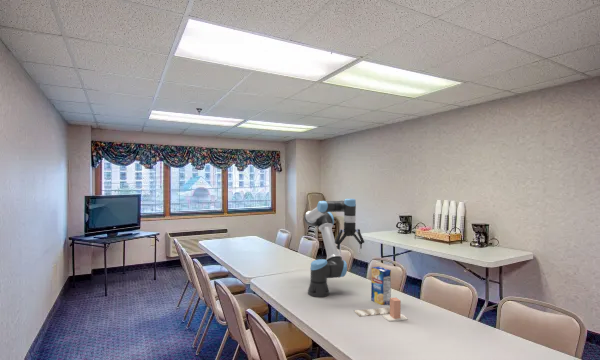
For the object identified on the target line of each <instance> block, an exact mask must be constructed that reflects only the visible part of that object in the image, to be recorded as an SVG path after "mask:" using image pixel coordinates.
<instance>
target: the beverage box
mask: <svg viewBox="0 0 600 360" xmlns="http://www.w3.org/2000/svg"><path fill="white" fill-rule="evenodd" d="M391 281H392V271H391V269H390V268H389V269H388V268H387V267H383V266H374V267H371V282H370V284H371V286H370V287H371V288H370V289H371V290H370V291H371V294H370V295H371V298H370V299H371V301H372V302H374V303H376V304H379V305H380V306H388V305H390V298H392V297H391V296H392V294H391V292H392V289H391V288H392V287H391V286H392V284H391V283H392V282H391Z"/></svg>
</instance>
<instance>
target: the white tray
mask: <svg viewBox="0 0 600 360" xmlns="http://www.w3.org/2000/svg"><path fill="white" fill-rule="evenodd" d="M353 312H354V313H355V314H356V315H357V316H358V317H360V318H361V317H370V316H382V315H387V314H390V307H381V308H370V309H369V308H368V309H356V310H353Z"/></svg>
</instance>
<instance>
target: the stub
mask: <svg viewBox="0 0 600 360" xmlns="http://www.w3.org/2000/svg"><path fill="white" fill-rule="evenodd" d="M401 305H402V304H401V299H399V298H397V297H391V298H390V304H389V308H390V314H385V315H381V316H382V317H383V318H384V319H385V320H387V322H398V321H408V320H409V318H408V317H406V316H405V315H404V314H403V313H401Z"/></svg>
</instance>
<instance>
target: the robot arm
mask: <svg viewBox="0 0 600 360" xmlns="http://www.w3.org/2000/svg"><path fill="white" fill-rule="evenodd" d="M356 206H357V203H356V199H355V198H345V199H344V200H319V201H318V202H317V205H316V207H315V208H313V209H312V210H308V211H307V212H306V213H304V216H303V221H304V222H305V223H306V225H308V226H310V227H317V228H318V230H319V231H320V233H321V237H322V241H323V244H324V249H325V253H326V256H327V259H323V258H321V259H320V258H319V259H315V260H312V261H311V263H310V283H309V286H308V289H307V294H308V295H309V296H311V297H315V298H324V297H327V296H329V295H330V288H329V286H328V279H335V278H336V279H337V278H344V277H345V276H346V275H347V272H348V263H347V262H346V260H344V259H343V257H342V256H341V255H342V243H343V241H344V240H345V239H346V237H353V238H354V239H355V240H356V241H357V242H358V243H357V254H358V255H361V250H362V245H363V244H365V240H364V238H363V236H362V233H361V230H360V228H356V219H357V218H356V217H357V216H356V211H357V210H356V209H357V207H356ZM332 213H343V216H344V217H343V221H344V222H343V229H341V228H339V230H338V231H339V232H338V234H337V236H336V238H335V236H334V232H333V229H332V228H333V226H334V224H335V218H334V215H333V214H332ZM356 233H357V234H356ZM357 235H358V236H357Z"/></svg>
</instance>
